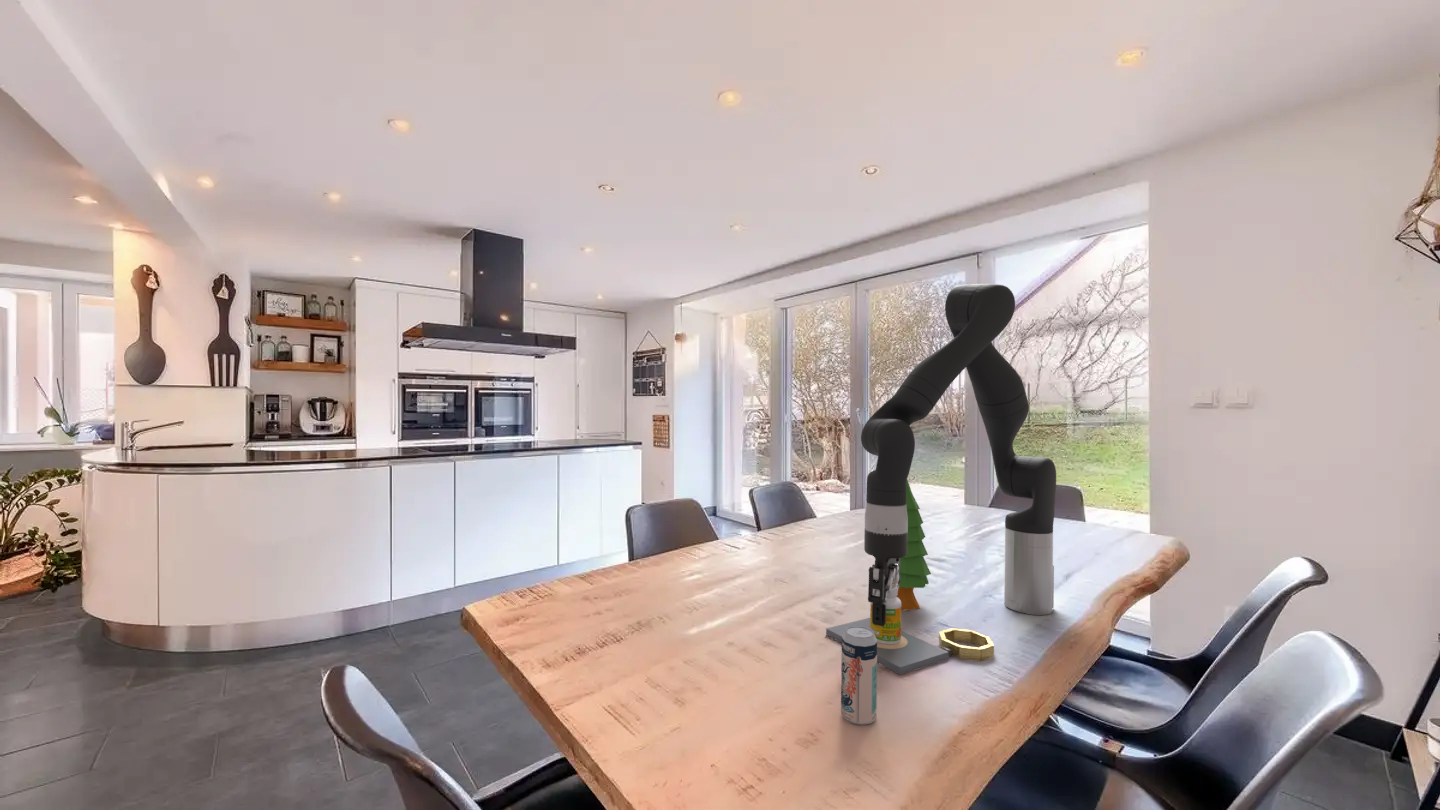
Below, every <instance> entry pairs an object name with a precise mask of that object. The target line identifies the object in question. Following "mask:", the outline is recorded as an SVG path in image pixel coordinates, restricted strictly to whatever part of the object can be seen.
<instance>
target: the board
mask: <svg viewBox="0 0 1440 810" xmlns="http://www.w3.org/2000/svg"><path fill="white" fill-rule="evenodd" d="M852 626H860V627H865V628H868V629H870V617H868V618H863V619H860V620H854V621H851V622H847V623H843V624H838V625H833V626H830V627H827V628H825V631H826V632H825V635H826V636H827V637H830V638H832V639H833V640H835V641H837V642H839V643H841V644H842V635H843V634H844V632H845V630H846V628H847V627H852ZM949 658H950V657H949V652H948V651H946V650H943V649H941V647H940V646H937V645H934V644H933V643H930V642H928V641H925V640H923V639H921V638H919V637H917V636H914V635H912V634H910V633H908V632H906V631H903V630H901V641H900V642H899V643H897V644H892V645H888V644H882V643H878V642H877V664H880V665H882V666H883V667H885V668H887V669H889V670H891V671H892V672H894V673H896V674H897V675H900V676H901V675H904V674H907V673H910V672H912V671H915V670H918V669H922V668H924V667H928V666H931V665H933V664H937V663H941V662H943V661H946V660H949Z"/></svg>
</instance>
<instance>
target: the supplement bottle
mask: <svg viewBox="0 0 1440 810" xmlns="http://www.w3.org/2000/svg"><path fill="white" fill-rule="evenodd" d="M897 591H898V590H897V586H896V585H894V584H892V588H891V592H890V593H888V595H887V603H886V624H885V625H884V626H879V625H874V624H873V623H872V603H871V602H870V609H869V610H870V617H869V618H870V629H871V630H872V631H873V632H874V635H875V637H876V639H877V642H878V643H882V644H888V645H892V644H897V643H899V642H900V641H901V631H902V609H901V601H900V599H899V598H898V597H896V596H897V593H898V592H897ZM876 596H879V597H880V591H877V592H876Z"/></svg>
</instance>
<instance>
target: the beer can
mask: <svg viewBox="0 0 1440 810" xmlns="http://www.w3.org/2000/svg"><path fill="white" fill-rule="evenodd" d="M840 667H841V672H840V673H841V675H840V676H841V680H840V681H841V684H840V693H841V694H840V696H841V697H840V713H841V716H842V717H843V719H845V720H847V722H849V723H851V724H853V725H857V726H858V725H859V726H866V725H867V726H868V725H869V724H871V723H874V722H875V721H876V719H877V700H878V699H877V693H878V691H877V690H878V683H877V682H878V663H877V639H876V637H875V635H874V632H873V631H872V630H871V629H868V628H865V627H860V626H852V627H847V628H846V630H845V632H844V634H843V635H842V643H841V665H840Z"/></svg>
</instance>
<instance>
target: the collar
mask: <svg viewBox="0 0 1440 810" xmlns="http://www.w3.org/2000/svg"><path fill="white" fill-rule="evenodd" d="M956 642H960V643H961V642H963V643H971V644H974V645H976V646H969V645H968V646H967V645H961V644H958V643H956ZM938 644H939V648H941V649H943V650H946V651H948V652H949V658H951V657H954V658H957V659H959V660H968V661H977V662H983V661H986V660H989V659H991V658H995V645H994V643H993V641H992V639H991V637H989V636H988V635H985V634H982V633H980V632H977V631H975V630H971V629H965V628H964V629H963V628H954V627H953V628H952V627H951V628H948V629H943V630H941V631H940V630H939V632H938ZM977 646H978V647H977Z"/></svg>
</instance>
